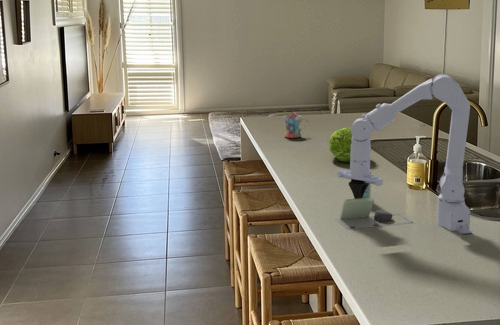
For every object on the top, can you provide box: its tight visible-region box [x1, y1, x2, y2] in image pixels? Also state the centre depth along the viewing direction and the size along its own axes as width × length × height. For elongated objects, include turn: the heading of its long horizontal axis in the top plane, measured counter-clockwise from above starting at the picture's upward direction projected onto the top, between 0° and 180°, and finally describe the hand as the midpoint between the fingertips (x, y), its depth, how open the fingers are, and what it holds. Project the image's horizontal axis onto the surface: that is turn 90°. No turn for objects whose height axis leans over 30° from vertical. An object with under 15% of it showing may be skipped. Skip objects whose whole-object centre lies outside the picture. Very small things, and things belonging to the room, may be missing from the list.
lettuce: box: [328, 127, 352, 163], centre depth 275 cm, size 17×24×14 cm
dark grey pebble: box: [373, 209, 393, 223], centre depth 191 cm, size 5×5×2 cm
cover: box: [339, 197, 375, 219], centre depth 192 cm, size 7×9×1 cm
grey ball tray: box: [336, 213, 414, 230], centre depth 190 cm, size 9×20×2 cm, turn 103°
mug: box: [283, 114, 308, 139], centre depth 323 cm, size 12×9×11 cm
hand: (358, 204), depth 192 cm, fingers closed, pressing on cover
